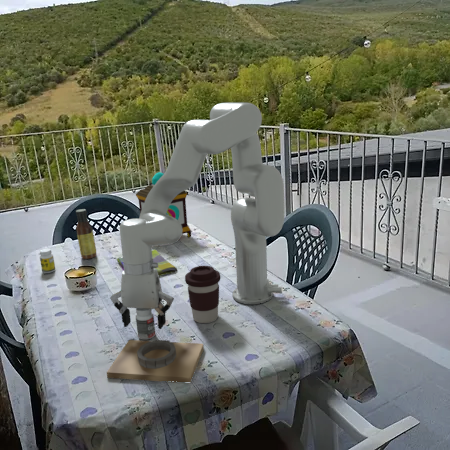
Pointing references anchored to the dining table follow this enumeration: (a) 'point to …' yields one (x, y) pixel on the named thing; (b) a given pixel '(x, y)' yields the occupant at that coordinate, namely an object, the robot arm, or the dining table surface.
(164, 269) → the dish towel
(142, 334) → the pill bottle
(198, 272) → the coffee cup
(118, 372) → the ring jig
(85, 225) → the sauce bottle
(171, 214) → the decorative lantern
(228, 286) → the dining table surface
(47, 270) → the supplement bottle
